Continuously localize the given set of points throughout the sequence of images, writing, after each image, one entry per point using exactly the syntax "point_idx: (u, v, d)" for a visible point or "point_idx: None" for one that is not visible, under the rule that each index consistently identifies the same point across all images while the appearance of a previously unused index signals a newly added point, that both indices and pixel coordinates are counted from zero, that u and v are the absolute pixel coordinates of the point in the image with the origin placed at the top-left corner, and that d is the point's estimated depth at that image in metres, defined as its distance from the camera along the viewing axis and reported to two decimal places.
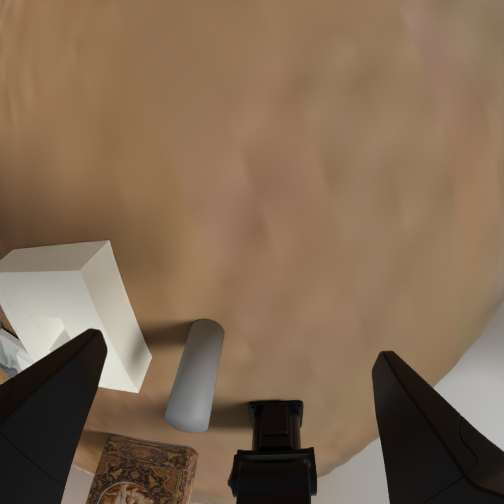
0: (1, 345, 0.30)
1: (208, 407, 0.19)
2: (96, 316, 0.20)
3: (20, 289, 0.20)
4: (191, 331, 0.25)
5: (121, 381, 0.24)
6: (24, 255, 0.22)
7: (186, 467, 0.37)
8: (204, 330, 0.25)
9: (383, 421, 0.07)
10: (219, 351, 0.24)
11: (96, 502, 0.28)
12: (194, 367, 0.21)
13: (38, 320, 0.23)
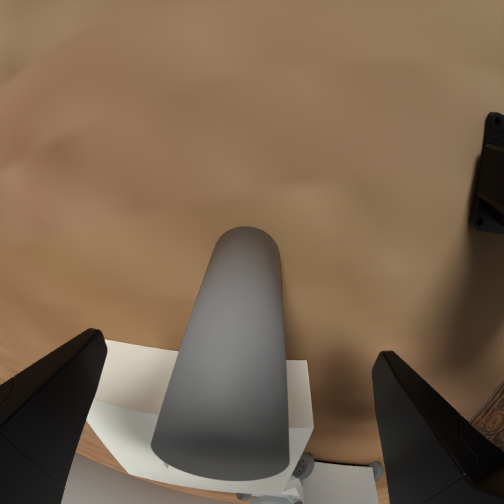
0: (271, 496, 0.28)
1: (204, 380, 0.06)
2: (129, 410, 0.13)
3: (129, 457, 0.17)
4: None
5: None
6: None
7: None
8: None
9: (383, 421, 0.07)
10: (236, 254, 0.11)
11: None
12: None
13: None
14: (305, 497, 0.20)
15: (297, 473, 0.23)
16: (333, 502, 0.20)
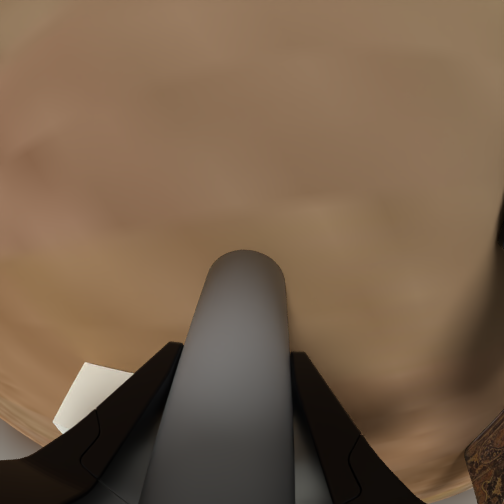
0: None
1: (189, 484, 0.04)
2: None
3: None
4: None
5: None
6: None
7: None
8: (200, 298, 0.11)
9: None
10: (233, 291, 0.09)
11: None
12: (170, 393, 0.07)
13: None
14: None
15: None
16: None
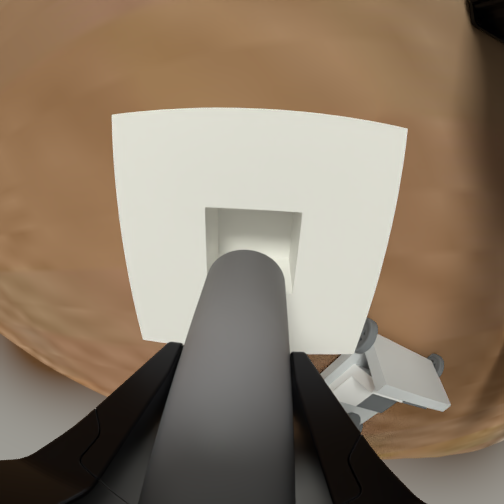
0: None
1: (189, 485, 0.04)
2: (194, 112, 0.12)
3: (155, 273, 0.16)
4: None
5: (374, 148, 0.12)
6: None
7: None
8: None
9: None
10: (233, 291, 0.09)
11: None
12: None
13: None
14: (374, 371, 0.19)
15: (357, 344, 0.22)
16: (406, 382, 0.19)
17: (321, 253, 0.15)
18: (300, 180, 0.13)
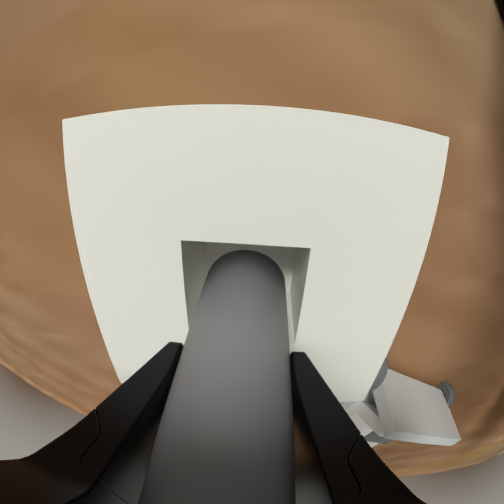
0: None
1: (189, 485, 0.04)
2: (163, 112, 0.08)
3: (125, 315, 0.12)
4: None
5: (408, 163, 0.09)
6: None
7: None
8: None
9: None
10: (233, 291, 0.09)
11: None
12: (169, 393, 0.07)
13: None
14: (382, 414, 0.16)
15: None
16: (417, 423, 0.15)
17: (333, 297, 0.11)
18: (309, 205, 0.10)
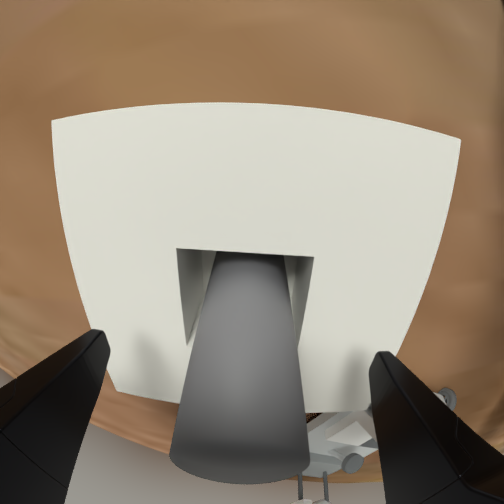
0: (310, 453, 0.23)
1: (224, 387, 0.06)
2: (156, 111, 0.08)
3: (120, 325, 0.12)
4: None
5: (418, 166, 0.08)
6: None
7: None
8: None
9: (379, 421, 0.07)
10: (243, 255, 0.11)
11: None
12: (195, 335, 0.09)
13: None
14: None
15: None
16: None
17: (337, 308, 0.11)
18: (313, 211, 0.09)
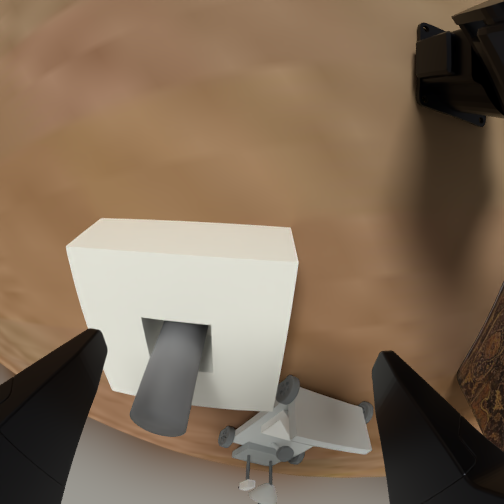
0: (255, 444, 0.31)
1: (150, 389, 0.14)
2: (122, 253, 0.16)
3: (114, 352, 0.19)
4: None
5: (266, 281, 0.16)
6: None
7: None
8: None
9: (383, 421, 0.07)
10: None
11: None
12: None
13: None
14: (291, 423, 0.23)
15: (282, 397, 0.26)
16: (321, 432, 0.23)
17: (230, 350, 0.19)
18: (206, 304, 0.17)
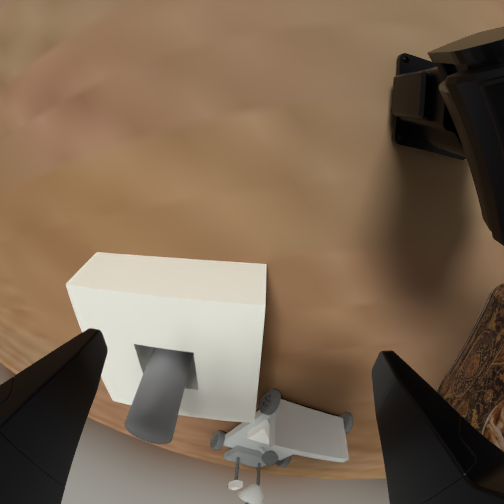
0: (244, 448, 0.33)
1: (141, 403, 0.16)
2: (114, 293, 0.18)
3: (113, 370, 0.22)
4: None
5: (238, 319, 0.18)
6: None
7: None
8: None
9: (383, 421, 0.07)
10: None
11: None
12: None
13: None
14: (271, 432, 0.25)
15: (264, 408, 0.28)
16: (299, 442, 0.25)
17: (211, 372, 0.21)
18: (188, 336, 0.19)
